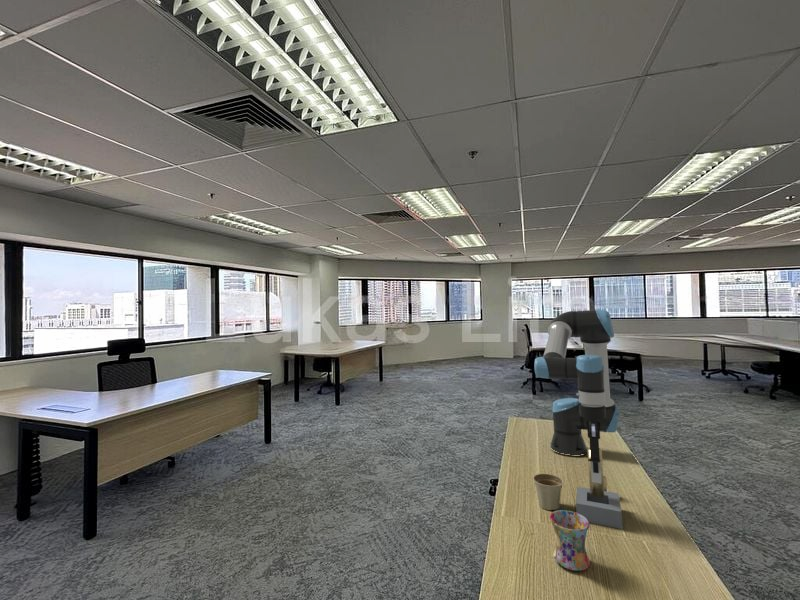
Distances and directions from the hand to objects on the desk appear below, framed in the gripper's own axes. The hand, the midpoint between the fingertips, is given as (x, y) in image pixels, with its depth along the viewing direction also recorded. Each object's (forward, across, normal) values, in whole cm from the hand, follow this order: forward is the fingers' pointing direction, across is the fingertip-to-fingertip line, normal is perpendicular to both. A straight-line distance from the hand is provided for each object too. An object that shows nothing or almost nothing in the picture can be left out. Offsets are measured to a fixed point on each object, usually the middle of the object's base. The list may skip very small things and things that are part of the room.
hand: (596, 479), depth 114 cm
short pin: (+11, -14, +1) cm, 18 cm away
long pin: (+5, 0, 0) cm, 5 cm away
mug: (+11, +26, -7) cm, 29 cm away
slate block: (+11, 0, 0) cm, 11 cm away
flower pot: (+11, 0, -14) cm, 18 cm away
